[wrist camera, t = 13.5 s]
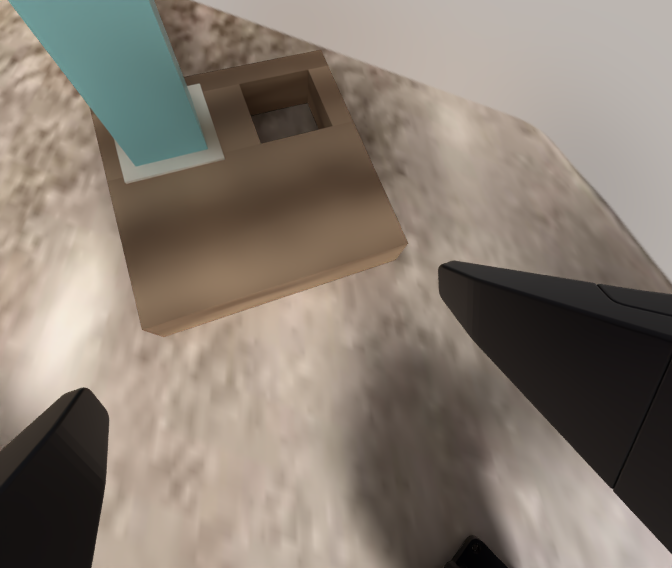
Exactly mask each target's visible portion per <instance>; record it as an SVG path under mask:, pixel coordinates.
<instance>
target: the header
mask: <svg viewBox="0 0 672 568" xmlns="http://www.w3.org/2000/svg"><path fill="white" fill-rule="evenodd" d="M184 79H185V82H186V85H187V87H188V90H189V92H190V95H191V98H192V101H193V104H194V107H195V110H196V114H197V117H198V120H199V123H200V126H201V129H202V132H203V135H204V138H205V141H206V144H207V147H208V149H207V150H202V151H198V152H194V153H190V154H186V155H182V156H178V157H174V158H169V159H165V160H161V161H157V162H153V163H149V164H145V165H140V166H136V167H135V165H134V164H133V163H132V161H131V160H130V159H129V157H128V156H127V155H126V153H125V152H124V151H123V150H122V148H121V147H120V146H119V144H118V143H117V142H116V140H115V139H114V138H113V137H112V135H111V134H110V133H109V131H108V130H107V129H106V127H105V126H104V125H103V123H102V122H101V121H100V120H99V118H98V117H97V116H96V114H95V113H94V112H93V110H92V109H91V108H90V110H91V115H92V119H93V123H94V127H95V132H96V136H97V140H98V144H99V149H100V153H101V157H102V161H103V166H104V170H105V174H106V178H107V183H108V187H109V191H110V195H111V200H112V204H113V208H114V212H115V217H116V221H117V225H118V229H119V234H120V238H121V242H122V246H123V251H124V255H125V259H126V263H127V268H128V272H129V276H130V280H131V285H132V289H133V293H134V297H135V302H136V306H137V310H138V314H139V319H140V323H141V327H142V330H144V331H147V332H150V333H153V334H156V335H159V336H162V337H165V336H168V335H171V334H174V333H177V332H180V331H183V330H186V329H189V328H192V327H195V326H198V325H201V324H204V323H207V322H210V321H213V320H216V319H219V318H222V317H225V316H228V315H231V314H234V313H237V312H240V311H243V310H246V309H249V308H252V307H255V306H258V305H261V304H264V303H267V302H270V301H273V300H276V299H279V298H282V297H285V296H288V295H291V294H294V293H297V292H300V291H303V290H306V289H309V288H312V287H315V286H318V285H321V284H324V283H327V282H330V281H333V280H336V279H339V278H342V277H345V276H348V275H351V274H354V273H357V272H360V271H363V270H366V269H369V268H372V267H375V266H378V265H381V264H384V263H388V262H391V261H394V260H396V259H397V257H398V256H399V255H400V253H401V252H402V251H403V249H404V248H405V247H406V245H407V244H408V242H407V240H406V237H405V235H404V233H403V231H402V228H401V226H400V224H399V222H398V220H397V217H396V215H395V213H394V211H393V209H392V206H391V204H390V202H389V200H388V197H387V195H386V193H385V191H384V189H383V186H382V184H381V182H380V180H379V177H378V175H377V173H376V171H375V169H374V166H373V164H372V162H371V160H370V158H369V155H368V153H367V151H366V149H365V146H364V144H363V142H362V140H361V138H360V135H359V133H358V131H357V129H356V127H355V124H354V122H353V120H352V118H351V115H350V113H349V111H348V109H347V107H346V104H345V102H344V100H343V98H342V95H341V93H340V91H339V89H338V87H337V84H336V82H335V80H334V78H333V76H332V73H331V71H330V69H329V67H328V64H327V62H326V60H325V58H324V56H323V53H322V51H321V50H317V51H312V52H307V53H302V54H297V55H292V56H287V57H282V58H277V59H272V60H267V61H262V62H257V63H252V64H247V65H242V66H237V67H232V68H227V69H222V70H217V71H212V72H207V73H202V74H197V75H192V76H187V77H184ZM304 103H308V105H309V107H310V110H311V112H312V114H313V117H314V119H315V122H316V124H317V126H318V129H319V130H315V131H311V132H307V133H303V134H299V135H294V136H290V137H286V138H282V139H278V140H274V141H270V142H266V143H262V144H261V142H260V140H259V137H258V134H257V131H256V129H255V126H254V123H253V121H252V118H251V115H255V114H260V113H264V112H269V111H273V110H277V109H282V108H286V107H291V106H295V105H299V104H304Z"/></svg>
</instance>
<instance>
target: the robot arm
mask: <svg viewBox="0 0 672 568" xmlns="http://www.w3.org/2000/svg"><path fill="white" fill-rule="evenodd" d="M438 280H439V294H440V296H441V298H442V300H443V301H444V302H445V304H446V305H447V306H448V308H449V309H450V310H451V312H452V313H453V315H454V316H455V317H456V319H457V320H458V321H459V323H460V324H461V325H462V327H463V328H464V329H465V331H466V332H467V333H468V335H469V336H470V337H471V338H472V339H473V341H474V342H475V343H476V344H477V345H478V346H479V347H480V348H481V349H482V350H483V352H484V353H485V354H486V355H487V356H488V357H489V358H490V359H491V360H492V361H493V362H494V363H495V364H496V365H497V367H498V368H499V369H500V370H501V371H502V372H503V373H504V374H505V375H506V376H507V377H508V378H509V379H510V381H511V382H512V383H513V384H514V385H515V386H516V387H517V388H518V389H519V390H520V391H521V392H522V393H523V394H524V396H525V397H526V398H527V399H528V400H529V401H530V402H531V403H532V404H533V405H534V406H535V407H536V408H537V409H538V411H539V412H540V413H541V414H542V415H543V416H544V417H545V418H546V419H547V420H548V421H549V422H550V423H551V425H552V426H553V427H554V428H555V429H556V430H557V431H558V432H559V433H560V434H561V435H562V436H563V437H564V438H565V440H566V441H567V442H568V443H569V444H570V445H571V446H572V447H573V448H574V449H575V450H576V451H577V452H578V454H579V455H580V456H581V457H582V458H583V459H584V460H585V461H586V462H587V463H588V464H589V465H590V466H591V467H592V469H593V470H594V471H595V472H596V473H597V474H598V475H599V476H600V477H601V478H602V479H603V480H604V481H605V482H606V484H607V485H608V486H609V487H610V488H612V489H613V491H614V493H615V494H616V495H617V496H618V497H619V498H620V499H621V500H622V501H623V502H624V503H625V504H626V505H627V506H628V508H629V509H630V510H631V511H632V512H633V513H634V514H635V515H636V516H637V517H638V518H639V519H640V520H641V521H642V523H643V524H644V525H645V526H646V527H647V528H648V529H649V530H650V531H651V532H652V533H653V534H654V535H655V537H656V538H657V539H658V540H659V541H660V542H661V543H662V544H663V545H664V546H665V547H666V548H667V549H668V550H669V552H670V553H671V554H672V294H665V293H657V292H649V291H642V290H635V289H629V288H622V287H615V286H609V285H603V284H597V285H596V284H595V283H590V282H584V281H578V280H572V279H565V278H559V277H553V276H547V275H541V274H534V273H528V272H522V271H516V270H510V269H504V268H497V267H491V266H485V265H479V264H473V263H466V262H460V261H450V262H447V263H444V264H441V265H440V266H439V269H438ZM108 434H109V415H108V412H107V410H106V409H105V407H104V406H103V405H102V404H101V403H100V401H99V400H98V399H97V398H96V396H95V395H94V394H93V393H92V391H91V390H90V389H88V388H84V387H83V388H80V389H77V390H74V391H71V392H68V393H66V394H64V395H62V396H61V397H60V398H59V399H58V400H57V401H56V402H55V403H53V404H52V405H51V406H50V407H49V408H48V409H47V410H46V411H45V412H43V413H42V414H41V415H40V416H39V417H38V418H37V419H36V420H35V421H33V422H32V423H31V424H30V425H29V426H28V427H27V428H26V429H24V430H23V431H22V432H21V433H20V434H19V435H18V436H17V437H16V438H14V439H13V440H12V441H11V442H10V443H9V444H8V445H7V446H6V447H4V448H3V449H2V450H1V451H0V568H91V567H92V561H93V555H94V550H95V544H96V538H97V532H98V526H99V520H100V515H101V509H102V503H103V497H104V490H105V484H106V473H107V454H108ZM474 544H477V545H478V547H477V549H476V550H475V551H473V550H472V547H473V545H474ZM444 568H508V567H507V566H506V565H505V564H504V563H503V562H502V561H501V560H500V559H499V558H498V557H497V556H496V555H495V554H494V553H493V552H492V551H491V550H490V549H489V548H488V547H487V546H486V545H485V544H484V543H483V542H482V541H481V540H480V539H479V538H478V537H476V536H473V535H472V536H469V537H468V538H467V539H466V540H465V542H464V543H463V545H462V546H461V548H460V549H459V551H458V552H457V553H456V555H455V556H454V558H453V559H452V561H450V562H447V564H446V565H445V567H444Z"/></svg>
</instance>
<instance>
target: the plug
mask: <svg viewBox="0 0 672 568" xmlns="http://www.w3.org/2000/svg"><path fill="white" fill-rule="evenodd" d="M8 1H9V2H10V4H11V5H12V6H13V7H14V9H15V10H16V11H17V13H18V14H19V15H20V17H21V18H22V19H23V20H24V22H25V23H26V24H27V26H28V27H29V28H30V30H31V31H32V32H33V34H34V35H35V36H36V37H37V39H38V40H39V41H40V43H41V44H42V45H43V47H44V48H45V49H46V50H47V52H48V53H49V54H50V56H51V57H52V58H53V60H54V61H55V62H56V63H57V65H58V66H59V67H60V69H61V70H62V71H63V73H64V74H65V75H66V77H67V78H68V79H69V80H70V82H71V83H72V84H73V86H74V87H75V88H76V90H77V91H78V92H79V93H80V95H81V96H82V97H83V99H84V100H85V101H86V103H87V104H88V105H89V107H90V108H91V109H92V110H93V112H94V113H95V114H96V116H97V117H98V118H99V120H100V121H101V122H102V123H103V125H104V126H105V127H106V129H107V130H108V131H109V133H110V134H111V135H112V137H113V138H114V139H115V140H116V142H117V143H118V144H119V146H120V147H121V148H122V150H123V151H124V152H125V153H126V155H127V156H128V157H129V159H130V160H131V161H132V163H133V164H134V165H135V167H136V166H140V165H145V164H149V163H153V162H157V161H161V160H165V159H169V158H174V157H178V156H182V155H186V154H190V153H194V152H198V151H202V150H207V149H208V147H207V144H206V141H205V138H204V135H203V132H202V129H201V126H200V123H199V120H198V117H197V114H196V110H195V107H194V104H193V101H192V98H191V95H190V92H189V90H188V87H187V85H186V82H185V79H184V77H183V74H182V72H181V69H180V67H179V64H178V61H177V59H176V56H175V54H174V51H173V48H172V46H171V43H170V41H169V38H168V35H167V33H166V30H165V28H164V25H163V22H162V20H161V17H160V15H159V12H158V9H157V7H156V4H155V2H154V0H8Z"/></svg>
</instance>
